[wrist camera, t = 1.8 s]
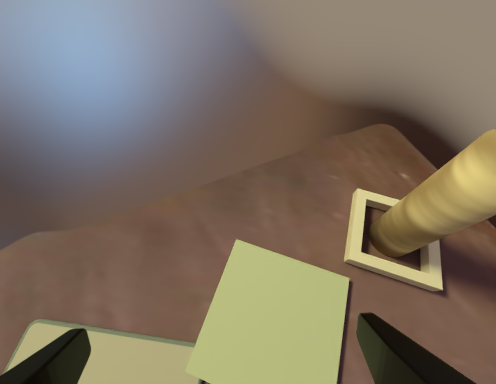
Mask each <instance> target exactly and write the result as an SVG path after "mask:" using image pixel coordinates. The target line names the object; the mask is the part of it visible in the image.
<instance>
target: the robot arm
mask: <svg viewBox="0 0 496 384" xmlns="http://www.w3.org/2000/svg"><path fill="white" fill-rule="evenodd" d="M356 334H357V339H358V342H359V345H360V347H361V350H362V352H363V355H364V357H365V360H366V362H367V365H368V367H369V370H370V372H371V375H372V377H373V380H374V382H375V384H476V383H475V382H473V381H472V380H470V379H469V378H467V377H466V376H464V375H463V374H461V373H460V372H458V371H457V370H456V369H454V368H453V367H451V366H450V365H448V364H447V363H445V362H444V361H442V360H441V359H439V358H438V357H437V356H435V355H434V354H432V353H431V352H429V351H428V350H426V349H425V348H423V347H422V346H420V345H419V344H417V343H416V342H415V341H413V340H412V339H410V338H409V337H407V336H406V335H404V334H403V333H401V332H400V331H398V330H397V329H396V328H394V327H393V326H391V325H390V324H388V323H387V322H385V321H384V320H382V319H381V318H379V317H378V316H376V315H375V314H373V313H370V312H368V313H360V314H359V315H358V322H357V331H356ZM90 354H91V345H90V341H89V337H88V333H87V330H86V329H84V328H77V329H71V330H69V331H67V332H66V333H64V334H63V335H61V336H60V337H58V338H57V339H55V340H54V341H52V342H51V343H49V344H48V345H46V346H45V347H43V348H42V349H40V350H39V351H37V352H36V353H34V354H32V355H31V356H29V357H28V358H26V359H25V360H23V361H22V362H20V363H19V364H17V365H16V366H14V367H13V368H11V369H10V370H8V371H7V372H5V373H4V374H2V375H1V376H0V384H78V381H79V379H80V377H81V375H82V373H83V370H84V368H85V366H86V364H87V361H88V359H89V357H90Z"/></svg>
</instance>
